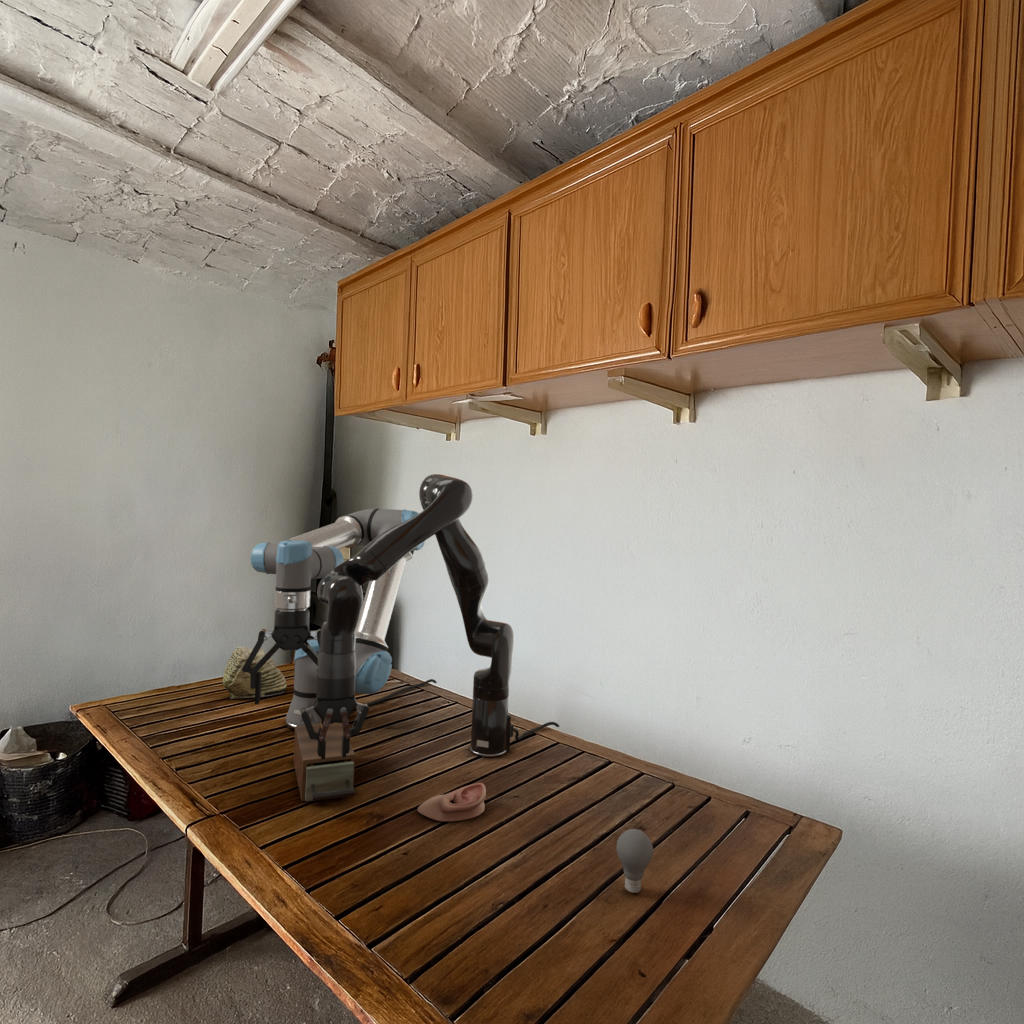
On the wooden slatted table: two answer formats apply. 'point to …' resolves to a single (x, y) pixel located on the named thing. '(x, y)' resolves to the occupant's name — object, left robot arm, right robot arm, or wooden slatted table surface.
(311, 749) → the cabinet
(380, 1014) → the wooden slatted table surface
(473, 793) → the anatomical model
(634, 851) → the light bulb
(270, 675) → the fossil
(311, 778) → the drawer
